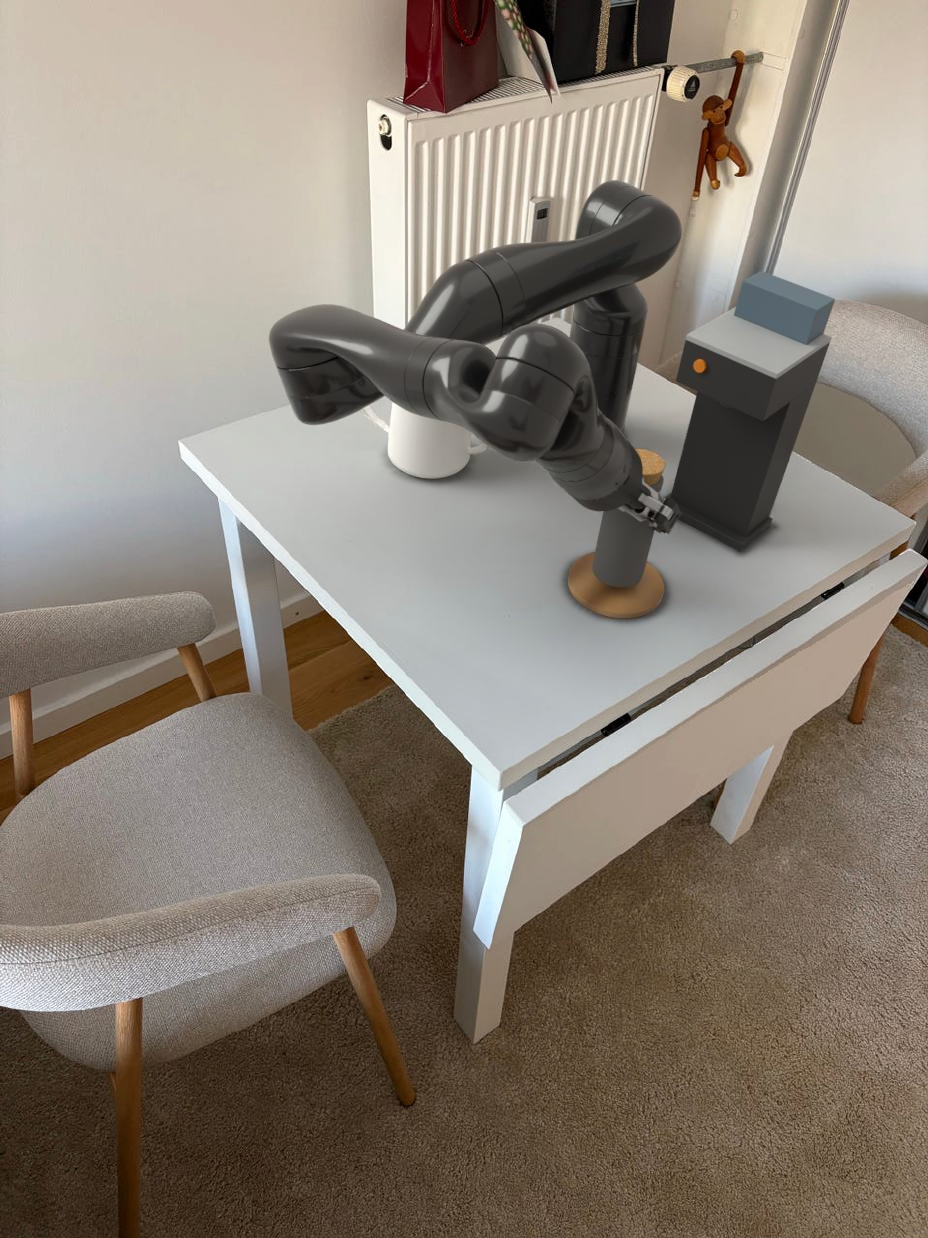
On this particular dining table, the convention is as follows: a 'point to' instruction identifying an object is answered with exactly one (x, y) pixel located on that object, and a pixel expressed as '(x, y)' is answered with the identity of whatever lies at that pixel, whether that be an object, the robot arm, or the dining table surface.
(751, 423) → the coffee maker
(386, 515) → the dining table surface
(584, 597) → the disc
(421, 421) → the coffeepot
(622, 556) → the bottle
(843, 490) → the dining table surface
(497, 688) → the dining table surface
